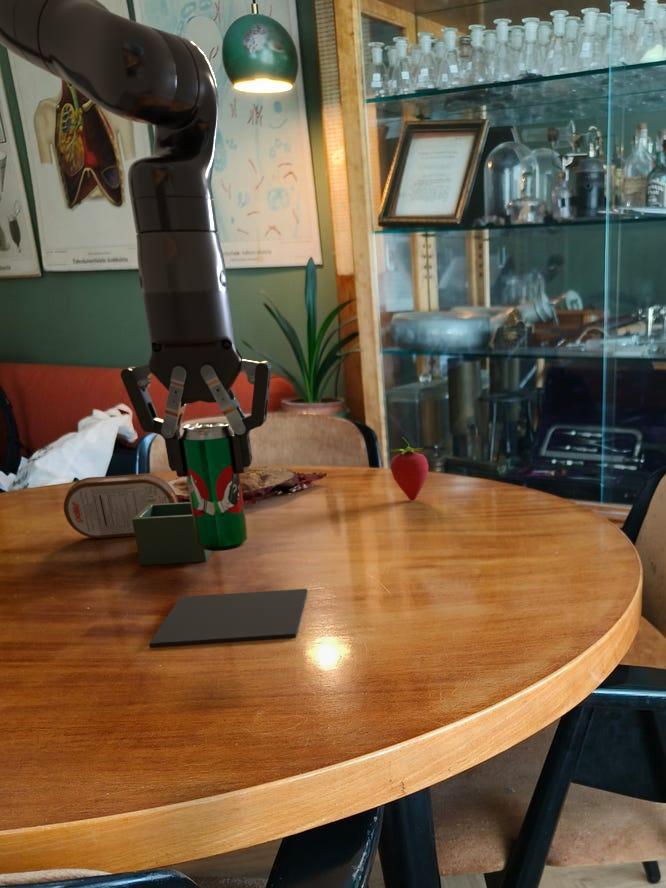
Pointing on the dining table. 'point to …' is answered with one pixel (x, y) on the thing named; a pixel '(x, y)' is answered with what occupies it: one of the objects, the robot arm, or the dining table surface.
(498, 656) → the dining table surface
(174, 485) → the plate with food
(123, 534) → the tin
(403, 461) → the strawberry
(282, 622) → the mat
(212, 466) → the soda can
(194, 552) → the box
